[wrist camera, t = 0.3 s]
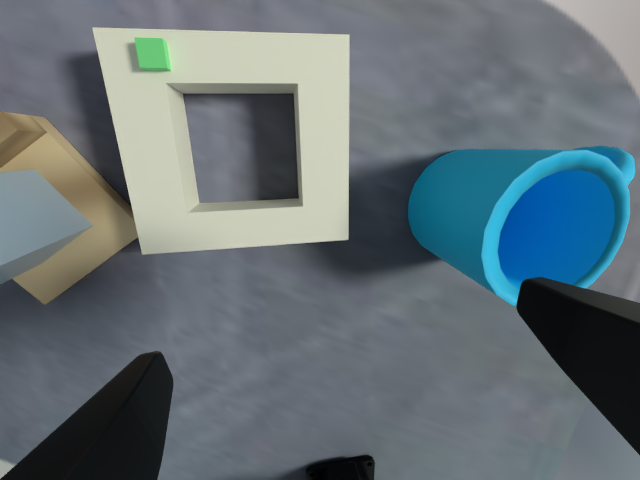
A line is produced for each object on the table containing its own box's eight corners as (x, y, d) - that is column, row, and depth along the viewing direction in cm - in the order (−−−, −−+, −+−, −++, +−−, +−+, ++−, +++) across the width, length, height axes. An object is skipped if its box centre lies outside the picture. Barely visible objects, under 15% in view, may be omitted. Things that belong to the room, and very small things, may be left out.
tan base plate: (150, 227, 19) (130, 241, 16) (55, 297, 20) (19, 322, 17) (44, 117, 17) (-2, 111, 14) (-63, 200, 17) (-130, 210, 14)
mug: (431, 274, 24) (508, 335, 16) (389, 186, 21) (457, 208, 13) (562, 197, 24) (703, 221, 16) (536, 98, 21) (692, 69, 13)
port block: (338, 227, 21) (350, 242, 18) (160, 239, 20) (137, 258, 16) (337, 52, 18) (352, 30, 15) (123, 48, 16) (84, 22, 13)
